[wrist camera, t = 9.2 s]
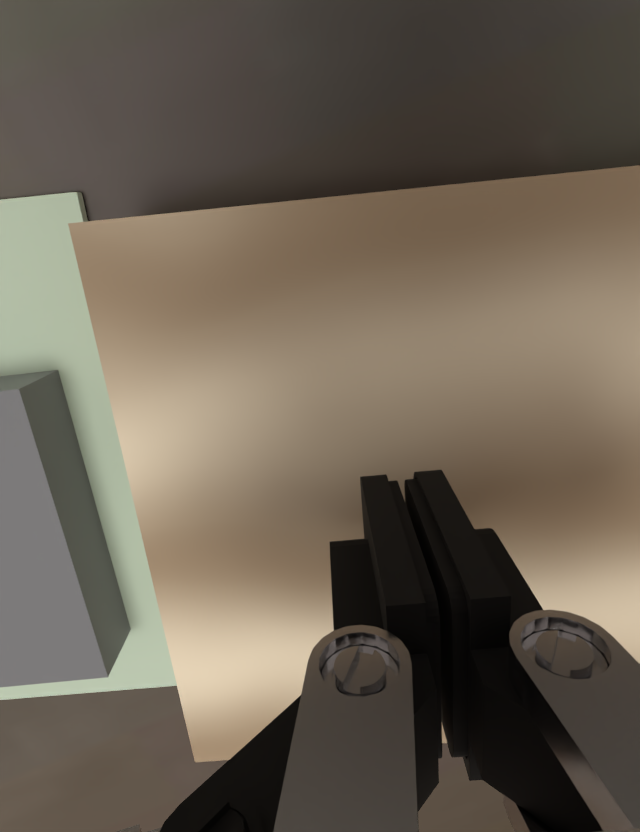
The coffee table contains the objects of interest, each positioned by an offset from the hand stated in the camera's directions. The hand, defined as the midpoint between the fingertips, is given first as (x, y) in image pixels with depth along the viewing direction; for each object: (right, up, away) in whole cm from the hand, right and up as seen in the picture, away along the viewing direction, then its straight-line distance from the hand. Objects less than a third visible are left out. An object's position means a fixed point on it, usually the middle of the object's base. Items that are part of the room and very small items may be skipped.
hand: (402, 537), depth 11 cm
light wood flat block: (+3, +2, +5) cm, 6 cm away
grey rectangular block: (-12, -1, +3) cm, 12 cm away
